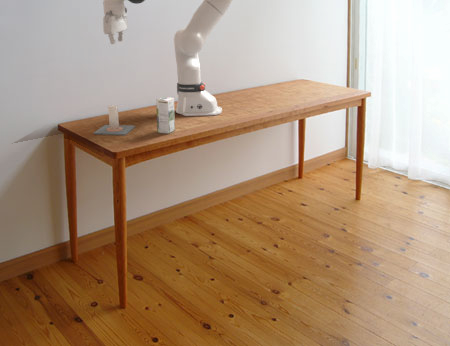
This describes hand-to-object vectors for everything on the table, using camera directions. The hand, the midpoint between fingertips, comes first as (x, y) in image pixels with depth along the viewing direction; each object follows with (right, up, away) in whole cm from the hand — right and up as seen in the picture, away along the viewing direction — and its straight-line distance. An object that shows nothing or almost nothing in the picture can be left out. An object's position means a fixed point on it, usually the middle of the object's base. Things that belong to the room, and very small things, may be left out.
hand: (116, 42), depth 244 cm
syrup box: (+23, -41, -9) cm, 47 cm away
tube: (0, -39, -6) cm, 39 cm away
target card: (0, -40, -6) cm, 40 cm away
